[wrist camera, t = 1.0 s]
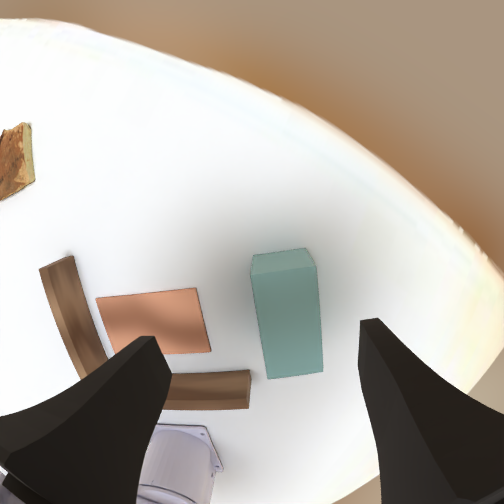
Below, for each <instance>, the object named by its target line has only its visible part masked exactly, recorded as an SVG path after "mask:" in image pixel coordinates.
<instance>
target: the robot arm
mask: <svg viewBox="0 0 504 504" xmlns="http://www.w3.org/2000/svg"><path fill="white" fill-rule="evenodd" d="M358 370H359V376H360V382H361V388H362V393H363V396H364V400H365V403H366V407H367V411H368V415H369V418H370V422H371V426H372V430H373V434H374V438H375V441H376V447H377V452H378V460H379V470H380V480H381V481H380V482H381V497H382V498H381V500H382V504H504V414H502V413H499V412H497V411H495V410H493V409H491V408H489V407H487V406H485V405H484V404H482V403H480V402H478V401H477V400H475V399H473V398H471V397H470V396H468V395H466V394H465V393H463V392H462V391H460V390H459V389H457V388H456V387H454V386H453V385H451V384H450V383H449V382H447V381H446V380H444V379H443V378H442V377H440V376H439V375H438V374H437V373H436V372H434V371H433V370H432V369H431V368H430V367H428V366H427V365H426V364H425V363H424V362H423V361H422V360H420V359H419V358H418V357H417V356H416V355H415V354H414V353H413V352H412V351H411V350H410V349H409V348H408V347H407V346H406V345H404V344H403V343H402V342H401V341H400V340H399V339H398V338H397V337H396V335H395V334H394V333H393V332H392V331H391V330H390V329H389V328H388V327H387V326H386V325H385V324H384V323H383V322H382V321H381V320H380V319H379V318H373V319H367V320H360V336H359V353H358ZM171 379H172V373H171V371H170V369H169V366H168V364H167V362H166V360H165V358H164V356H163V354H162V351H161V349H160V347H159V345H158V343H157V340H156V338H155V336H140V337H138V338H137V339H135V340H134V341H132V342H131V343H130V344H128V345H127V346H126V347H124V348H123V349H122V350H120V351H119V352H118V353H116V354H115V355H114V356H113V357H111V358H110V359H109V360H107V361H106V362H105V363H104V364H102V365H101V366H100V367H98V368H97V369H96V370H94V371H93V372H92V373H90V374H89V375H87V376H86V377H85V378H83V379H82V380H80V381H79V382H77V383H76V384H74V385H73V386H71V387H70V388H68V389H66V390H65V391H63V392H61V393H60V394H58V395H56V396H54V397H52V398H50V399H48V400H46V401H44V402H42V403H39V404H37V405H35V406H33V407H30V408H28V409H25V410H22V411H19V412H16V413H13V414H9V415H5V416H1V417H0V466H1V467H3V468H4V469H5V470H6V471H7V472H8V474H7V475H6V476H5V475H4V474H3V473H1V472H0V504H210V500H211V495H212V489H213V483H214V478H215V472H223V467H222V465H221V462H220V460H219V458H218V456H217V453H216V451H215V449H214V446H213V444H212V442H211V439H210V437H209V435H208V432H207V430H206V428H204V427H201V426H171V425H156V424H157V421H158V419H159V417H160V414H161V412H162V409H163V406H164V404H165V401H166V399H167V395H168V392H169V388H170V383H171ZM149 441H150V445H149V448H148V450H147V447H148V444H149ZM146 450H147V453H146ZM145 453H146V455H145Z"/></svg>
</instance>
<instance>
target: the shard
mask: <svg viewBox="0 0 504 504" xmlns="http://www.w3.org/2000/svg"><path fill="white" fill-rule="evenodd" d="M31 132H32V131H31V129H30V127H29V126H28V125H27V124H26V123H24V122H22V123H21V124H19V125H18V126H16V127H14V128H13V129H11V130H5V129H4V130H3V132H2V135H1V137H0V200H2V199H4V198H6V197H8V196H10V195H11V194H13V193H15V192H18V191H19V190H20V189H22V188H23V187H24V186H26V185H28V184H30V183H32V182H33V181H34V180H35V175H34V169H33V161H32V154H31V141H32V140H31Z"/></svg>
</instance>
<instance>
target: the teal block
mask: <svg viewBox="0 0 504 504" xmlns="http://www.w3.org/2000/svg"><path fill="white" fill-rule="evenodd" d="M250 277H251V283H252V289H253V295H254V301H255V307H256V313H257V319H258V325H259V331H260V337H261V343H262V349H263V354H264V360H265V366H266V372H267V378H268V379H275V378H284V377H291V376H299V375H306V374H312V373H318V372H323V354H322V335H321V319H320V305H319V293H318V281H317V270H316V265H315V263H314V261H313V260H312V258H311V256H310V255H309V253H308V252H307V250H306V248H302V249H294V250H287V251H280V252H273V253H266V254H259V255H253V261H252V267H251V273H250Z"/></svg>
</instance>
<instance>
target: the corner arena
mask: <svg viewBox="0 0 504 504" xmlns="http://www.w3.org/2000/svg"><path fill="white" fill-rule="evenodd" d="M39 272H40V276H41V279H42V283H43V286H44V289H45V293H46V296H47V299H48V302H49V305H50V308H51V311H52V313H53V316H54V319H55V322H56V324H57V327H58V329H59V332H60V335H61V337H62V339H63V342H64V344H65V347H66V349H67V351H68V354H69V356H70V358H71V360H72V362H73V365H74V367H75V369H76V371H77V373H78V375H79V377H80V379H81V380H82V379H83V378H85V377H86V376H87V375H89V374H90V373H92V372H93V371H94V370H96V369H97V368H98V367H100V366H101V365H102V364H104V363H105V362H106V361H107V360H108V359H107V356H106V354H105V352H104V349H103V347H102V344H101V342H100V339H99V336H98V334H97V331H96V328H95V326H94V323H93V320H92V317H91V314H90V311H89V308H88V305H87V302H86V299H85V296H84V293H83V289H82V286H81V283H80V279H79V276H78V272H77V268H76V265H75V261H74V257H73V256H69V257H64V258H62V259H60V260H58V261H55V262H53V263H51V264H49V265H47V266H44V267H42V268H40V269H39ZM96 303H97V306H98V309H99V312H100V315H101V318H102V321H103V323H104V326H105V329H106V332H107V335H108V337H109V340H110V342H111V345H112V348H113V350H114V353H115V354H116V353H118V352H119V351H120V350H122V349H123V348H124V347H126V346H127V345H128V344H130V343H131V342H132V341H134V340H135V339H137V338H138V337H140V336H155V338H156V340H157V343H158V345H159V347H160V349H161V351H162V354H186V353H204V352H211V348H210V344H209V340H208V336H207V332H206V329H205V325H204V320H203V316H202V312H201V308H200V304H199V300H198V295H197V291H196V288H189V289H181V290H172V291H163V292H153V293H144V294H134V295H124V296H113V297H103V298H96ZM250 389H251V376H250V371H249V370H242V371H229V372H212V373H186V374H172V379H171V383H170V388H169V392H168V395H167V399H166V401H165V404H164V406H163V409H164V410H232V409H249V401H250Z"/></svg>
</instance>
